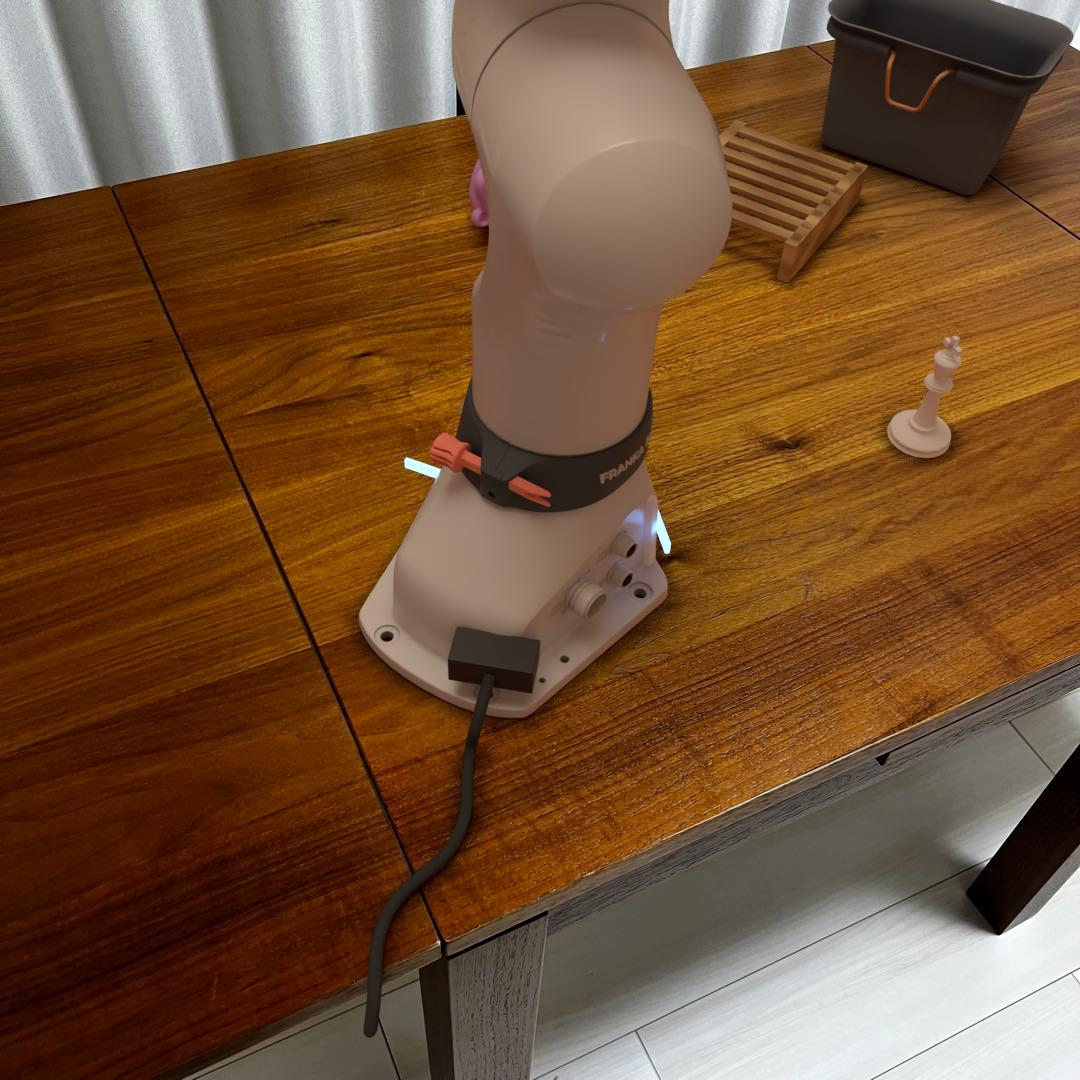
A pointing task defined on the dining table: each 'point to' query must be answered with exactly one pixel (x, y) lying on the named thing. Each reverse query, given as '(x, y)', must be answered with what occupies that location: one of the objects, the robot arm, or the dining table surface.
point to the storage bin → (935, 83)
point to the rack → (788, 192)
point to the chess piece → (928, 410)
